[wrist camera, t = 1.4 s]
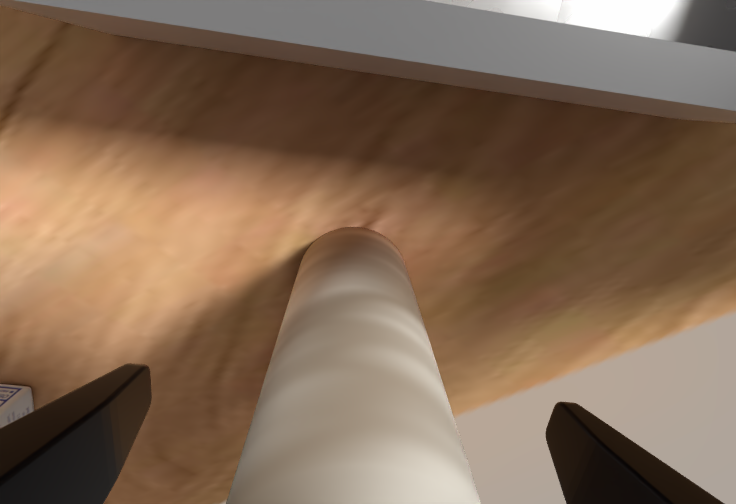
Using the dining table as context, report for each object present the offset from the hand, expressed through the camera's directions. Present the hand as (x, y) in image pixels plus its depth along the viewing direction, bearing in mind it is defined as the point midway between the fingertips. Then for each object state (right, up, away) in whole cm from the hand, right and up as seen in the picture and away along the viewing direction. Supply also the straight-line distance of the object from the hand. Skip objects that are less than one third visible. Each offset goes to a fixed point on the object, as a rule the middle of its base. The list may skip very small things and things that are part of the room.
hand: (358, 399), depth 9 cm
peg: (0, +2, +6) cm, 7 cm away
